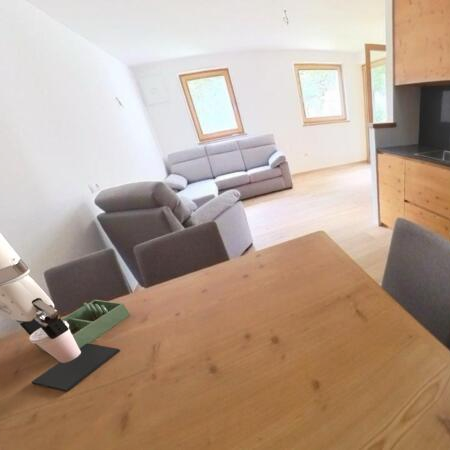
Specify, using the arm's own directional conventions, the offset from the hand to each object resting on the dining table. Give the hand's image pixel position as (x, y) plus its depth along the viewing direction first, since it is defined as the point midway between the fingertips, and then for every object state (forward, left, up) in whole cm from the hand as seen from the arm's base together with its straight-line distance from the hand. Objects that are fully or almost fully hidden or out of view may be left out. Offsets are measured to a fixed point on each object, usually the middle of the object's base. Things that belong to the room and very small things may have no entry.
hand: (49, 332), depth 69 cm
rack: (-13, +10, -13) cm, 21 cm away
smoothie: (0, 0, -9) cm, 9 cm away
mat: (0, 0, -13) cm, 13 cm away
